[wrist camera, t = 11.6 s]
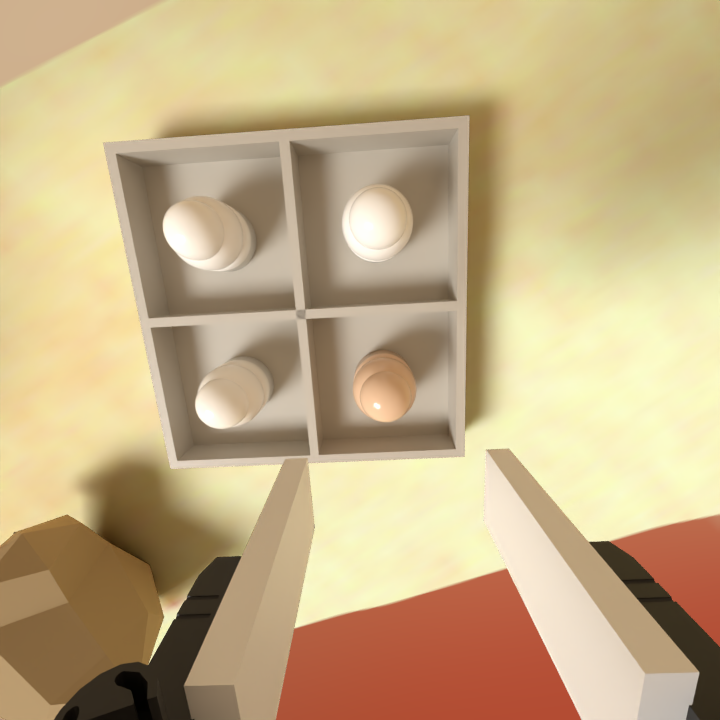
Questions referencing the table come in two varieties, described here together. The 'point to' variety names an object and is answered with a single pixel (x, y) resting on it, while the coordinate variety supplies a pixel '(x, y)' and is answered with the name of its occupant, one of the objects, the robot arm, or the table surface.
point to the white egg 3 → (377, 222)
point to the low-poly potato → (68, 615)
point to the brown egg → (384, 386)
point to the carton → (303, 287)
